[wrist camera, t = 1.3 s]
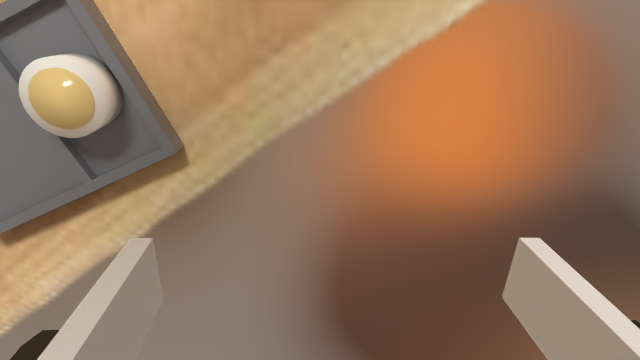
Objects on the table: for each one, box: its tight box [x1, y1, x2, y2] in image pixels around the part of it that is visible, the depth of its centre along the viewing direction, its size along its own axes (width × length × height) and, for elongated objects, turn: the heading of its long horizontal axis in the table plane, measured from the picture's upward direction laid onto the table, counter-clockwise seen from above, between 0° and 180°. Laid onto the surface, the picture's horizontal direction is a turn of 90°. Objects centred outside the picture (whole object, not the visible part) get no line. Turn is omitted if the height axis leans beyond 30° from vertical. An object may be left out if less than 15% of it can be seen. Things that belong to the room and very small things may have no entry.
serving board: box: [0, 0, 184, 234], centre depth 32 cm, size 16×22×5 cm
